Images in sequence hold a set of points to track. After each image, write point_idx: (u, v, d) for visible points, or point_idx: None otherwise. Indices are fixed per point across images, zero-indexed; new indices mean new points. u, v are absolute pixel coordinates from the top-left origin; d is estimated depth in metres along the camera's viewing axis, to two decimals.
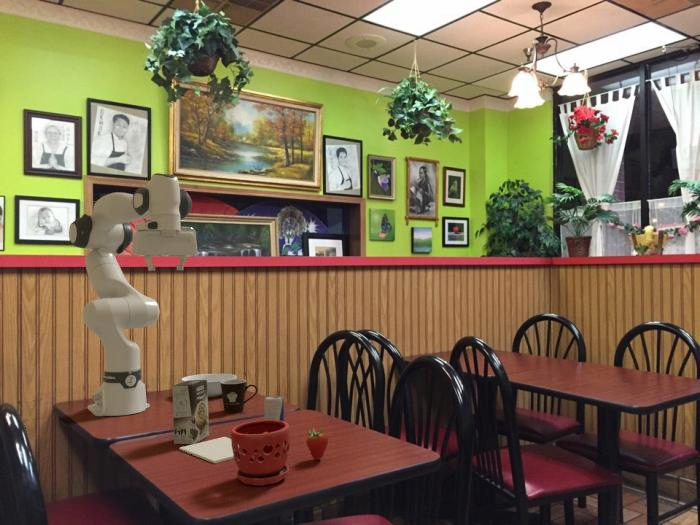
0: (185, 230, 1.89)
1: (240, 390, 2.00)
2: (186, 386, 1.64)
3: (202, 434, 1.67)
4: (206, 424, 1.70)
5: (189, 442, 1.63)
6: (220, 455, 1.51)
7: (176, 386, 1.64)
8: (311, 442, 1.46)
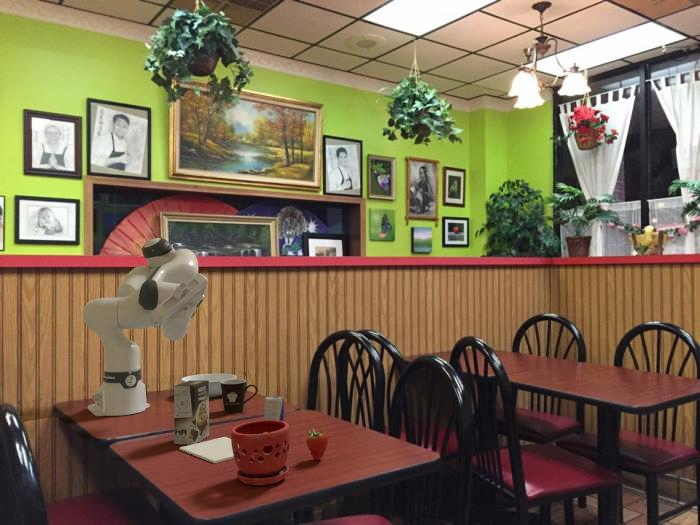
0: None
1: (240, 390, 2.00)
2: (188, 387, 1.64)
3: (202, 435, 1.67)
4: (206, 425, 1.70)
5: (189, 443, 1.63)
6: (220, 455, 1.51)
7: (178, 386, 1.64)
8: (311, 442, 1.46)
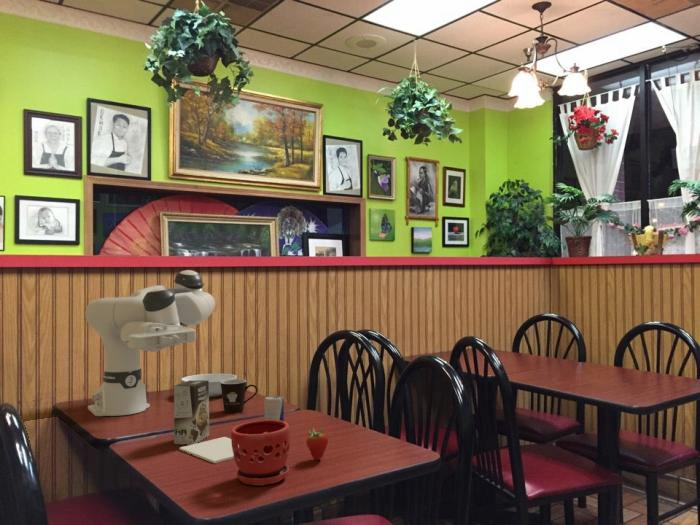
0: None
1: (240, 390, 2.00)
2: (188, 387, 1.64)
3: (202, 435, 1.67)
4: (206, 425, 1.70)
5: (189, 443, 1.63)
6: (220, 455, 1.51)
7: (178, 386, 1.64)
8: (311, 442, 1.46)
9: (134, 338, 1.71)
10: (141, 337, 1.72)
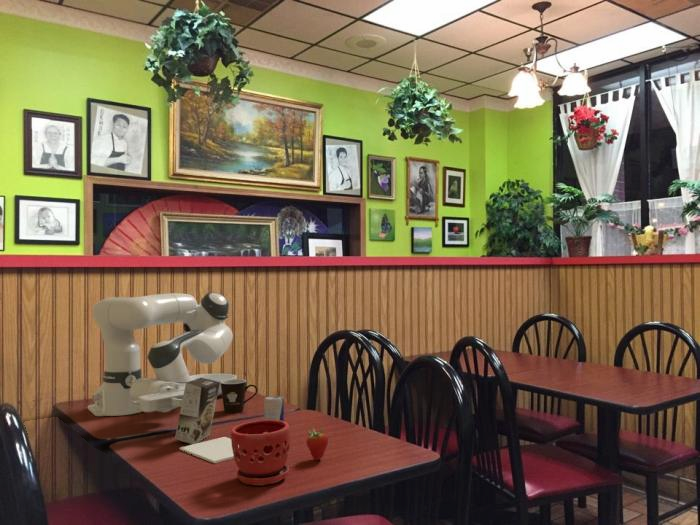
0: None
1: (240, 390, 2.00)
2: (199, 387, 1.63)
3: (203, 435, 1.67)
4: (209, 425, 1.70)
5: (190, 441, 1.63)
6: (220, 455, 1.51)
7: (189, 384, 1.64)
8: (311, 442, 1.46)
9: (146, 401, 1.67)
10: (153, 400, 1.68)
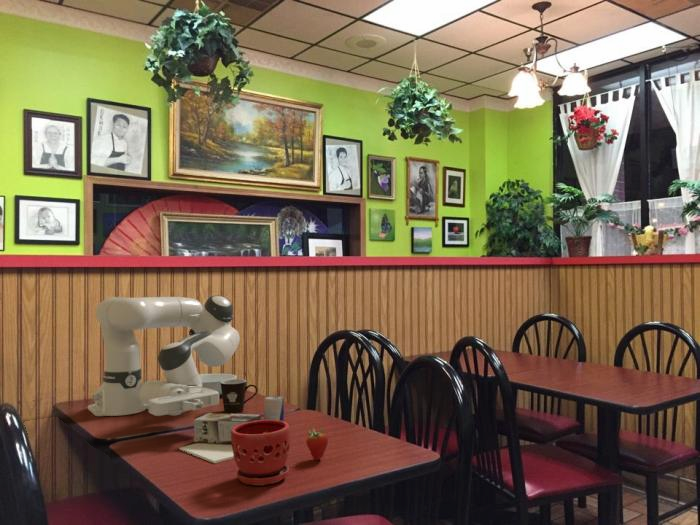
0: None
1: (240, 390, 2.00)
2: None
3: None
4: None
5: (195, 437, 1.63)
6: (220, 455, 1.51)
7: None
8: (311, 442, 1.46)
9: (156, 404, 1.62)
10: (163, 403, 1.63)
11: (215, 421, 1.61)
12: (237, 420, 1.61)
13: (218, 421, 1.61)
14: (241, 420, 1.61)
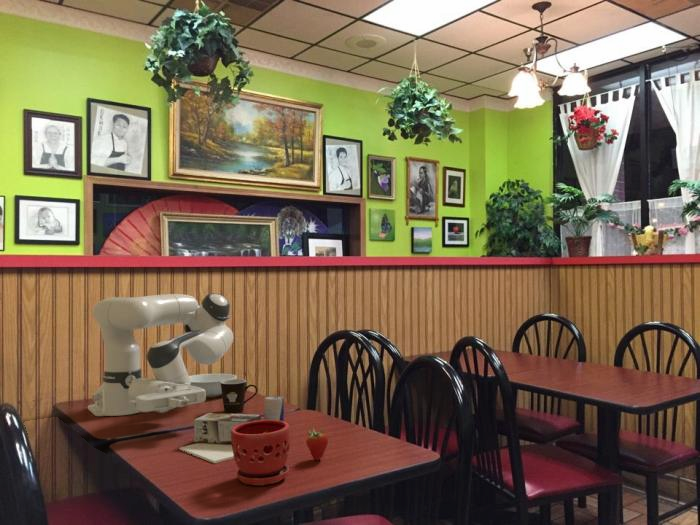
0: None
1: (240, 390, 2.00)
2: None
3: None
4: None
5: (195, 437, 1.63)
6: (220, 455, 1.51)
7: None
8: (311, 442, 1.46)
9: (142, 401, 1.66)
10: (149, 400, 1.67)
11: (215, 421, 1.61)
12: (237, 420, 1.61)
13: (218, 421, 1.61)
14: (241, 420, 1.61)
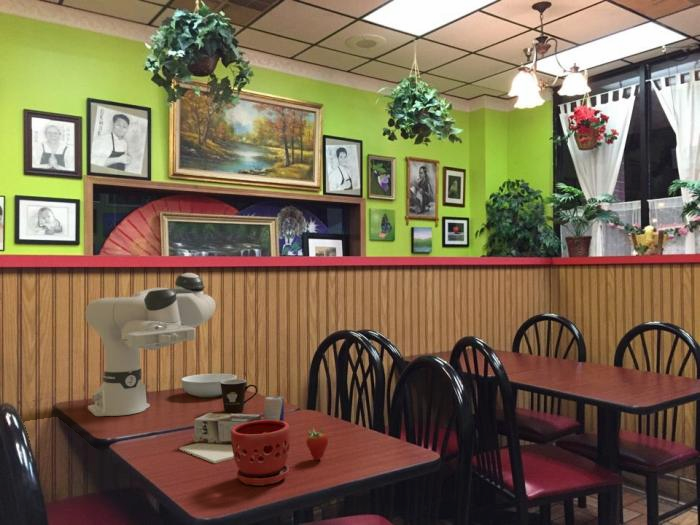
0: None
1: (240, 390, 2.00)
2: None
3: None
4: None
5: (195, 437, 1.63)
6: (220, 455, 1.51)
7: None
8: (311, 442, 1.46)
9: (132, 336, 1.71)
10: (140, 335, 1.72)
11: (215, 421, 1.61)
12: (237, 420, 1.61)
13: (218, 421, 1.61)
14: (241, 420, 1.61)
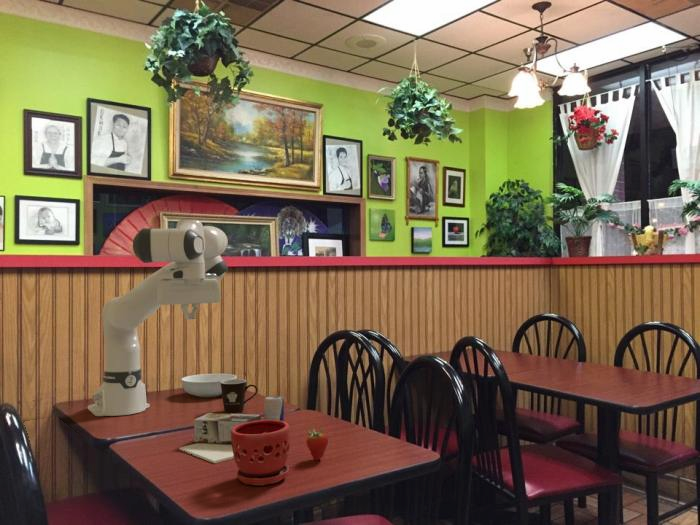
0: (209, 277, 1.86)
1: (240, 390, 2.00)
2: None
3: None
4: None
5: (195, 437, 1.63)
6: (220, 455, 1.51)
7: None
8: (311, 442, 1.46)
9: None
10: None
11: (215, 421, 1.61)
12: (237, 420, 1.61)
13: (218, 421, 1.61)
14: (241, 420, 1.61)
